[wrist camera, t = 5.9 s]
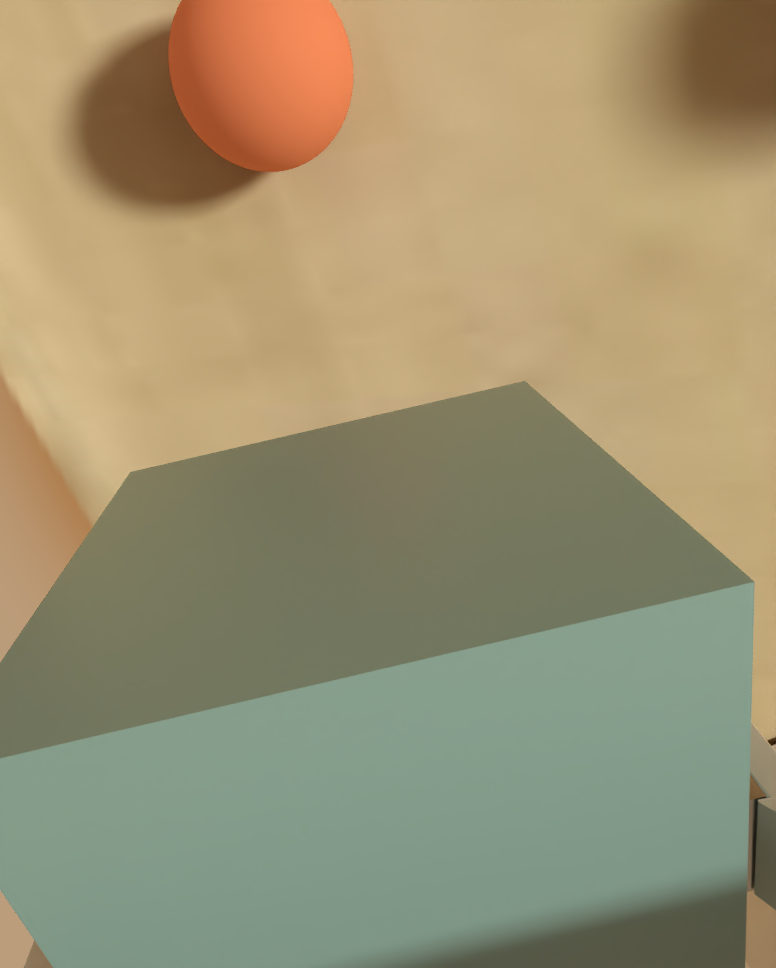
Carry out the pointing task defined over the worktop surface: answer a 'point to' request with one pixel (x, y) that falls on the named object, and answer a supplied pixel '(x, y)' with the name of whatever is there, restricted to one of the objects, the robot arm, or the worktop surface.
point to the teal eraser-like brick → (385, 711)
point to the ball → (261, 78)
